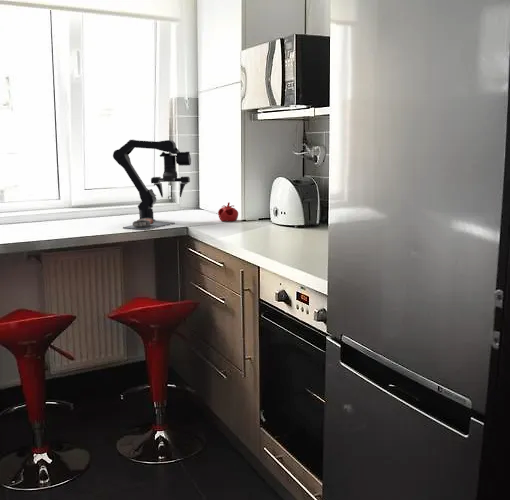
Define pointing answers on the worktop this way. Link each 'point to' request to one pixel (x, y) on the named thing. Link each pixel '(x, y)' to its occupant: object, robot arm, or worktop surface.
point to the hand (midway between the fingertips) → (171, 197)
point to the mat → (155, 224)
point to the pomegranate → (228, 213)
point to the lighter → (143, 222)
